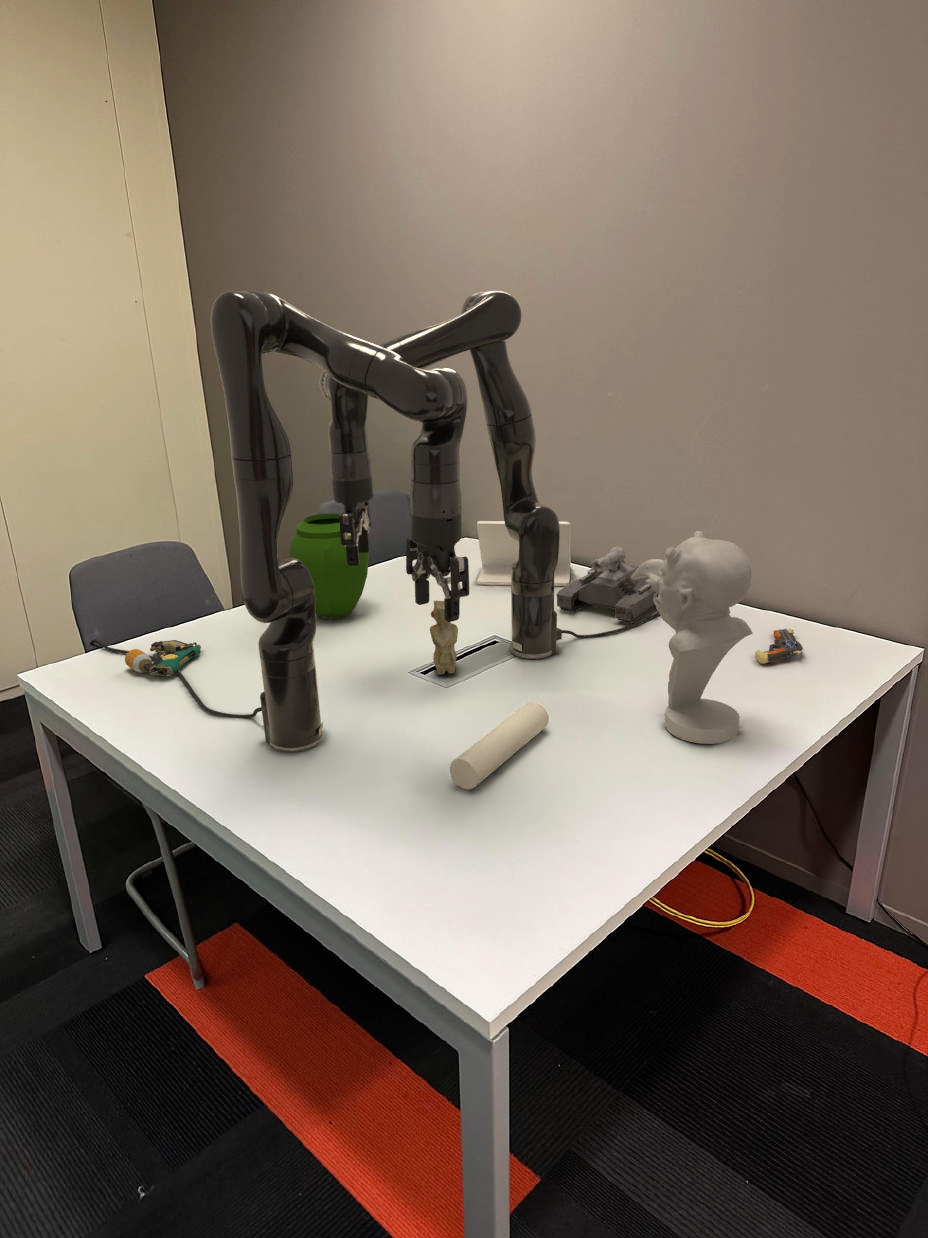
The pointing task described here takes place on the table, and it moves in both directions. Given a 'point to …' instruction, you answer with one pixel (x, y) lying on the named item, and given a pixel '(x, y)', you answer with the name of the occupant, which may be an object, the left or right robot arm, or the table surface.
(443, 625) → the sculpture
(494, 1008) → the table surface
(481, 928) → the table surface
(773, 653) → the toy gun
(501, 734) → the rod
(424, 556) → the left robot arm
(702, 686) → the bust sculpture
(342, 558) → the vase
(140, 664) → the spray gun
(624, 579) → the toy
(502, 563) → the tablet stand
